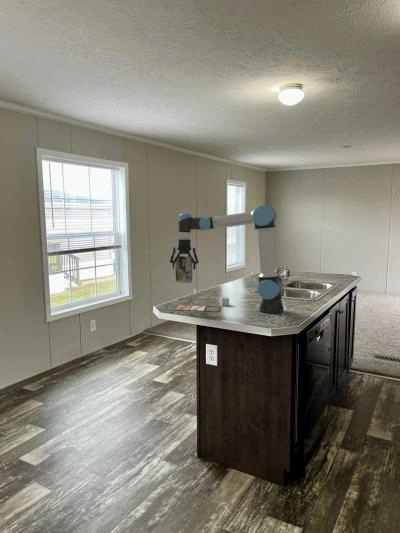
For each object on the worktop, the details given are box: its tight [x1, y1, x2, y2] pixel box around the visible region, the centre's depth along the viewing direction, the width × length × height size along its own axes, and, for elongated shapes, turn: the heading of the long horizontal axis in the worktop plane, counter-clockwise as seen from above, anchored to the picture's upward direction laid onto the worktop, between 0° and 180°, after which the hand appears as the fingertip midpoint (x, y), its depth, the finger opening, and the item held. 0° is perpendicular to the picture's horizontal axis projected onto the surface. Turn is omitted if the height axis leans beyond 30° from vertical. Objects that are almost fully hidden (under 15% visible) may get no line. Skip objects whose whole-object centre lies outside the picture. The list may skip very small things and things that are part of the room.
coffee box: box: [175, 255, 194, 284], centre depth 242 cm, size 9×6×16 cm
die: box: [219, 296, 230, 307], centre depth 256 cm, size 5×5×5 cm
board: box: [173, 304, 222, 313], centre depth 244 cm, size 28×14×1 cm, turn 83°
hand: (183, 274), depth 242 cm, fingers closed on coffee box, 11 cm apart
